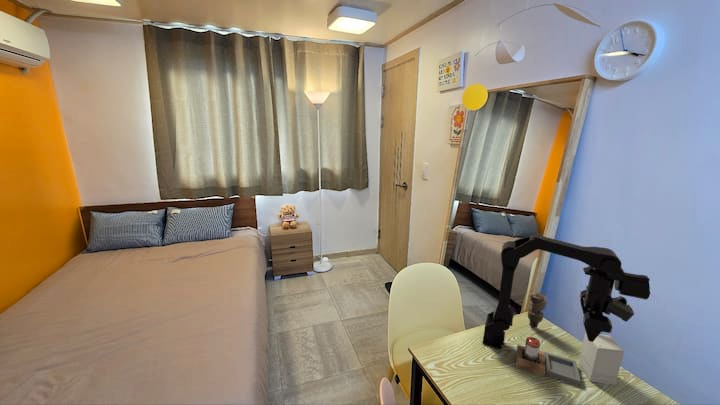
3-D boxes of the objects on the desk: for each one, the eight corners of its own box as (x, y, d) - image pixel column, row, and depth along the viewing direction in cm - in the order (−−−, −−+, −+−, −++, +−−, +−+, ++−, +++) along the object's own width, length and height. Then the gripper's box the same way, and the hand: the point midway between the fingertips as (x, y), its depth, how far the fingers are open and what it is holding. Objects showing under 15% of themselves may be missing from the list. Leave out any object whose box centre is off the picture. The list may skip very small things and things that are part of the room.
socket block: (516, 367, 97) (517, 359, 96) (516, 351, 104) (517, 344, 103) (544, 376, 93) (545, 368, 93) (542, 359, 100) (543, 352, 99)
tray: (545, 374, 94) (546, 370, 94) (543, 356, 102) (544, 351, 101) (579, 385, 90) (580, 381, 89) (575, 365, 98) (576, 361, 97)
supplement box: (616, 385, 90) (625, 351, 87) (589, 381, 91) (597, 348, 88) (602, 366, 97) (610, 334, 94) (577, 363, 98) (584, 331, 95)
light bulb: (536, 322, 119) (541, 290, 115) (545, 332, 113) (551, 298, 110) (522, 323, 119) (527, 290, 115) (531, 332, 113) (536, 298, 109)
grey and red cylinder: (522, 365, 98) (526, 342, 96) (522, 357, 101) (526, 335, 99) (536, 369, 96) (540, 347, 94) (536, 361, 99) (539, 339, 97)
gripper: (642, 314, 77) (628, 362, 81) (628, 283, 92) (617, 325, 96) (589, 300, 83) (579, 346, 87) (584, 273, 98) (575, 313, 102)
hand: (589, 332), depth 93 cm, fingers open, 9 cm apart
